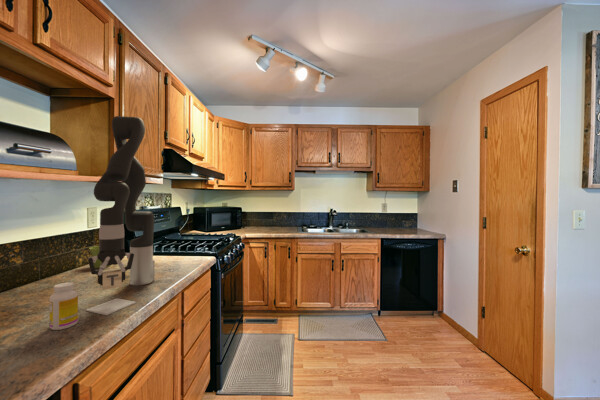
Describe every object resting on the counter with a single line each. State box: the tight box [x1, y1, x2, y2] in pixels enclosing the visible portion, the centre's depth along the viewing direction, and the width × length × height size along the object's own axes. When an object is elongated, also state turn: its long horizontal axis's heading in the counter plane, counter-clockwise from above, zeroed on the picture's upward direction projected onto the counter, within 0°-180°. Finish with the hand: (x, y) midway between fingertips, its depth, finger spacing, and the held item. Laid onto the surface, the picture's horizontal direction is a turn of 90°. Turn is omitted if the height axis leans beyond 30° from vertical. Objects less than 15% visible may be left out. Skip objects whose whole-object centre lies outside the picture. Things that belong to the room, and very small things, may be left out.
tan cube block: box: [101, 267, 123, 290], centre depth 97 cm, size 6×6×6 cm
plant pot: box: [88, 245, 111, 269], centre depth 151 cm, size 12×12×11 cm
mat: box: [85, 297, 137, 316], centre depth 97 cm, size 11×10×1 cm
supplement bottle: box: [49, 281, 79, 331], centre depth 83 cm, size 7×7×13 cm
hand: (111, 283), depth 97 cm, fingers closed on tan cube block, 5 cm apart
